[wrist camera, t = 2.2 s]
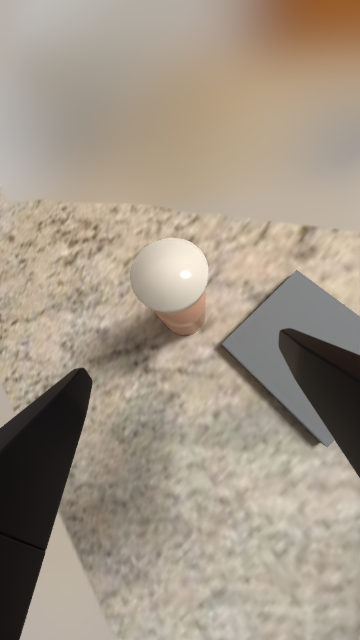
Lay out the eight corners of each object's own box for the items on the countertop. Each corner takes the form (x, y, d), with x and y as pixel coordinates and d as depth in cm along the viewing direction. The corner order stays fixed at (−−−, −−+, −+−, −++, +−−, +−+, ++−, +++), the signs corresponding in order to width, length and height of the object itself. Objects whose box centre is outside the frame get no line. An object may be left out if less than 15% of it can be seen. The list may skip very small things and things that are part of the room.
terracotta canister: (184, 345, 20) (165, 327, 11) (155, 315, 22) (115, 274, 12) (215, 315, 21) (225, 270, 11) (185, 287, 22) (170, 224, 12)
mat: (320, 442, 17) (327, 447, 16) (220, 344, 20) (221, 343, 19) (400, 355, 18) (411, 354, 17) (292, 274, 21) (296, 270, 20)
